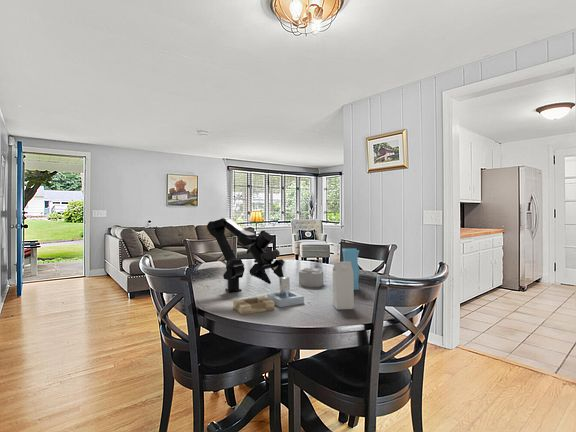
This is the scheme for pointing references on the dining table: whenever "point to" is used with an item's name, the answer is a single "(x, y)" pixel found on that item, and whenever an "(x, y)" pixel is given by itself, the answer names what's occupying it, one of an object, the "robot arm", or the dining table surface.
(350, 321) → the dining table surface
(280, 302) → the seat block
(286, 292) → the steel axle
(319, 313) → the dining table surface
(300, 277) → the lumpy-topped squat cylinder
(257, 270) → the robot arm
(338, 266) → the milk carton
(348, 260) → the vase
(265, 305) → the tan rectangular frame
